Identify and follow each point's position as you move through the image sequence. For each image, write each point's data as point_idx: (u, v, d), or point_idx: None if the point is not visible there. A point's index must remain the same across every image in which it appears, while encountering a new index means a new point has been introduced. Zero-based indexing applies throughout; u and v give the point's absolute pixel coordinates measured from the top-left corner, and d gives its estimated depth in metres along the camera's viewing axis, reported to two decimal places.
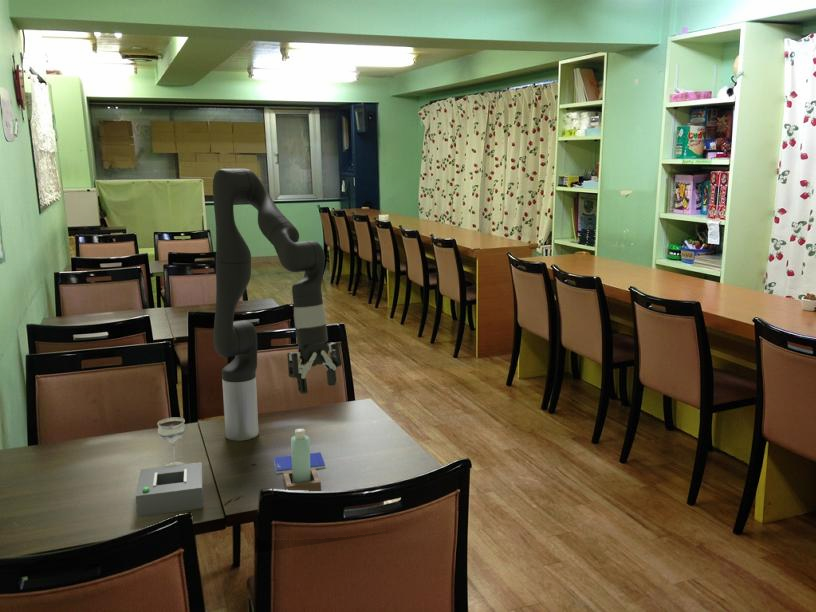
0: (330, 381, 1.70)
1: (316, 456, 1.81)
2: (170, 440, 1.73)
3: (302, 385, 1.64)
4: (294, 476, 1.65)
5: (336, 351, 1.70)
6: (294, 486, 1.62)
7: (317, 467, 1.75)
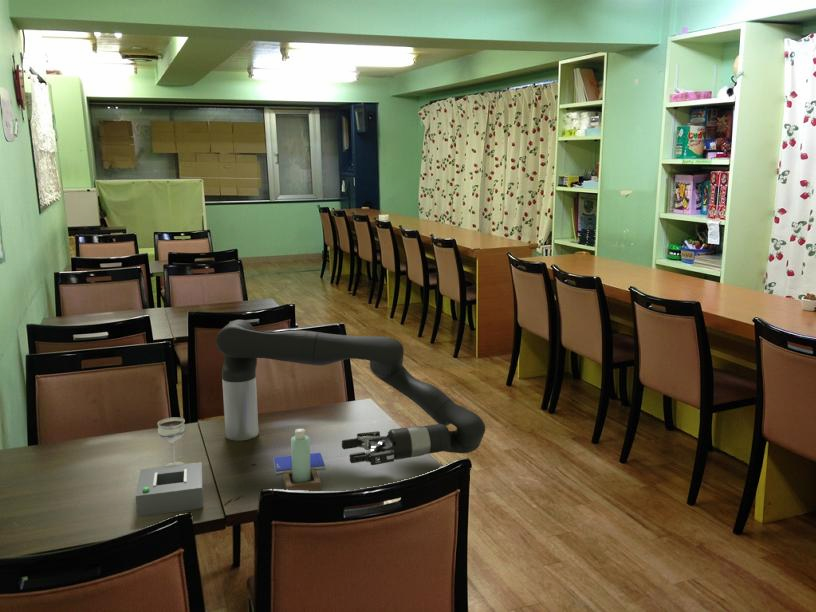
0: None
1: (315, 456, 1.81)
2: (170, 440, 1.73)
3: None
4: (294, 476, 1.65)
5: (385, 451, 1.64)
6: (294, 486, 1.62)
7: (317, 467, 1.75)
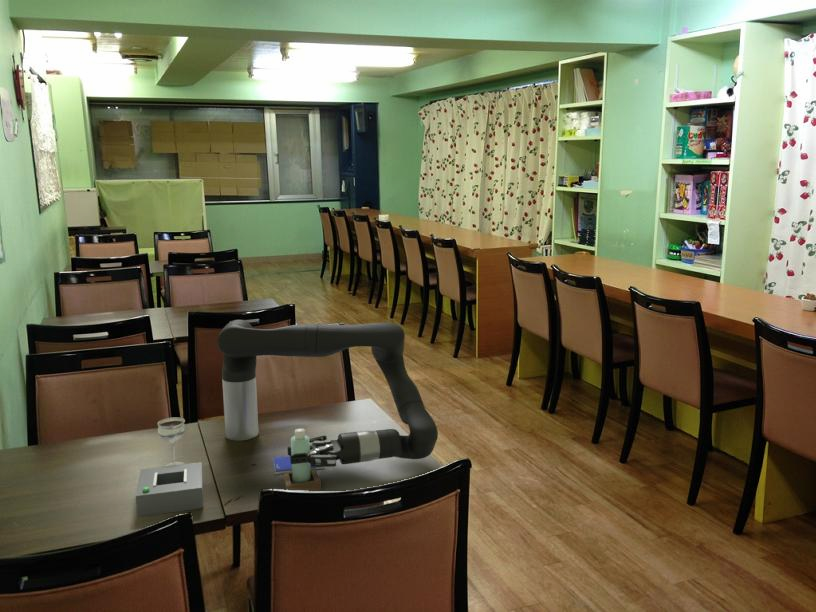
0: None
1: None
2: (170, 440, 1.73)
3: None
4: (294, 476, 1.65)
5: (327, 455, 1.62)
6: (294, 486, 1.62)
7: (316, 468, 1.75)
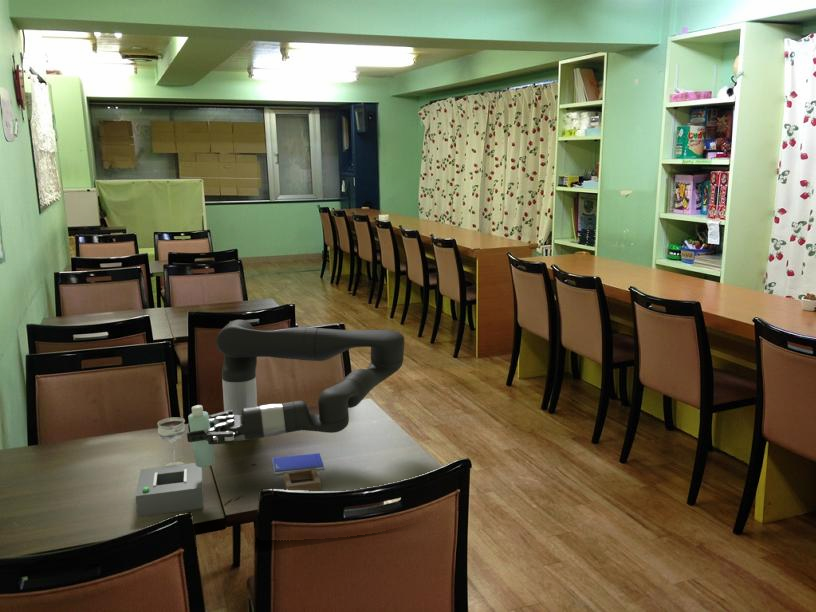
0: None
1: (314, 457, 1.80)
2: (170, 440, 1.73)
3: None
4: (195, 454, 1.57)
5: (225, 431, 1.53)
6: (294, 486, 1.62)
7: (316, 468, 1.75)
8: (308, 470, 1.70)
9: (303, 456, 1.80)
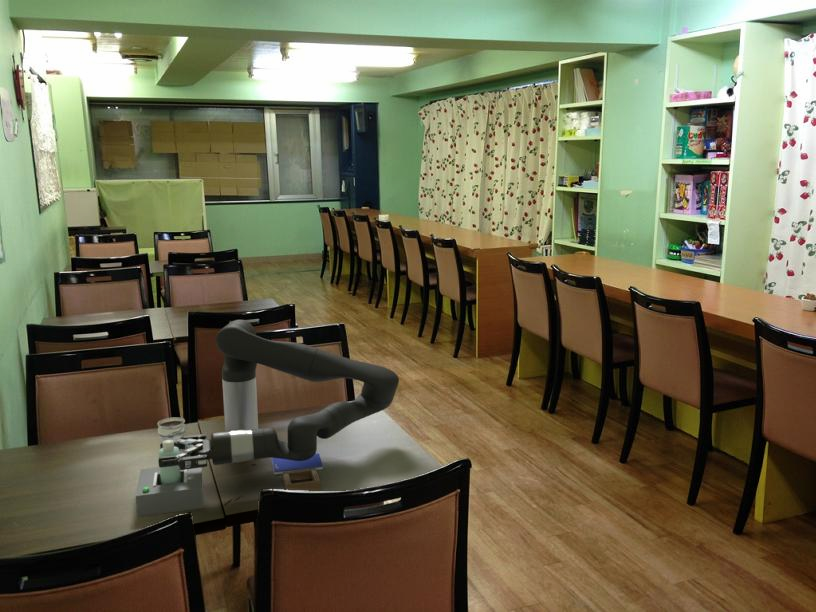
0: None
1: (314, 457, 1.80)
2: None
3: None
4: None
5: (197, 455, 1.54)
6: (294, 486, 1.62)
7: (315, 468, 1.75)
8: (308, 470, 1.70)
9: None
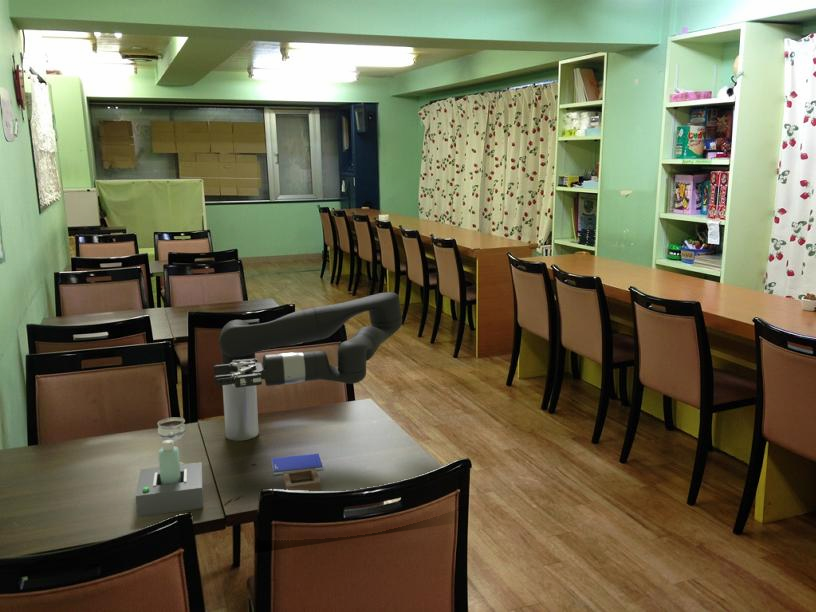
0: None
1: (313, 457, 1.80)
2: None
3: None
4: None
5: (252, 374, 1.56)
6: (294, 486, 1.62)
7: None
8: (308, 470, 1.70)
9: (302, 457, 1.80)
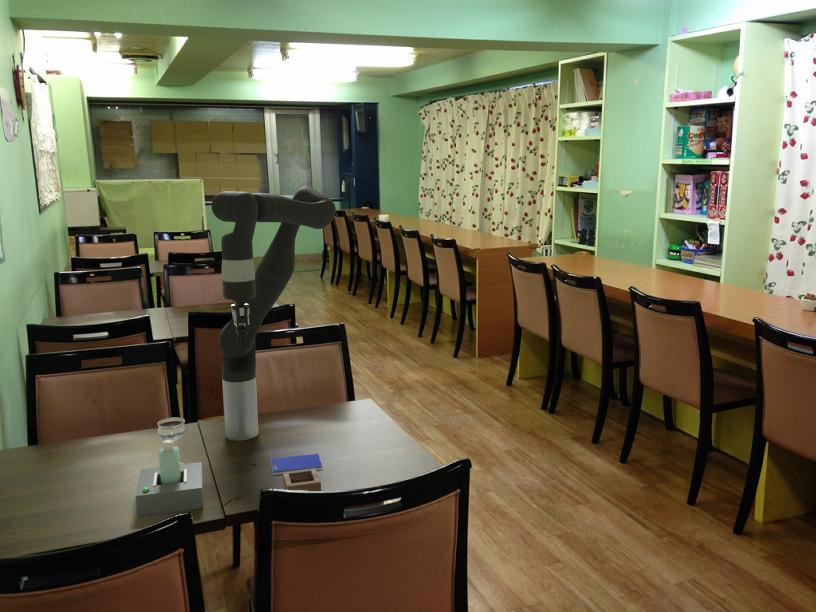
0: None
1: (313, 457, 1.80)
2: None
3: None
4: None
5: (236, 315, 1.56)
6: (294, 486, 1.62)
7: None
8: (308, 470, 1.70)
9: (302, 457, 1.80)
